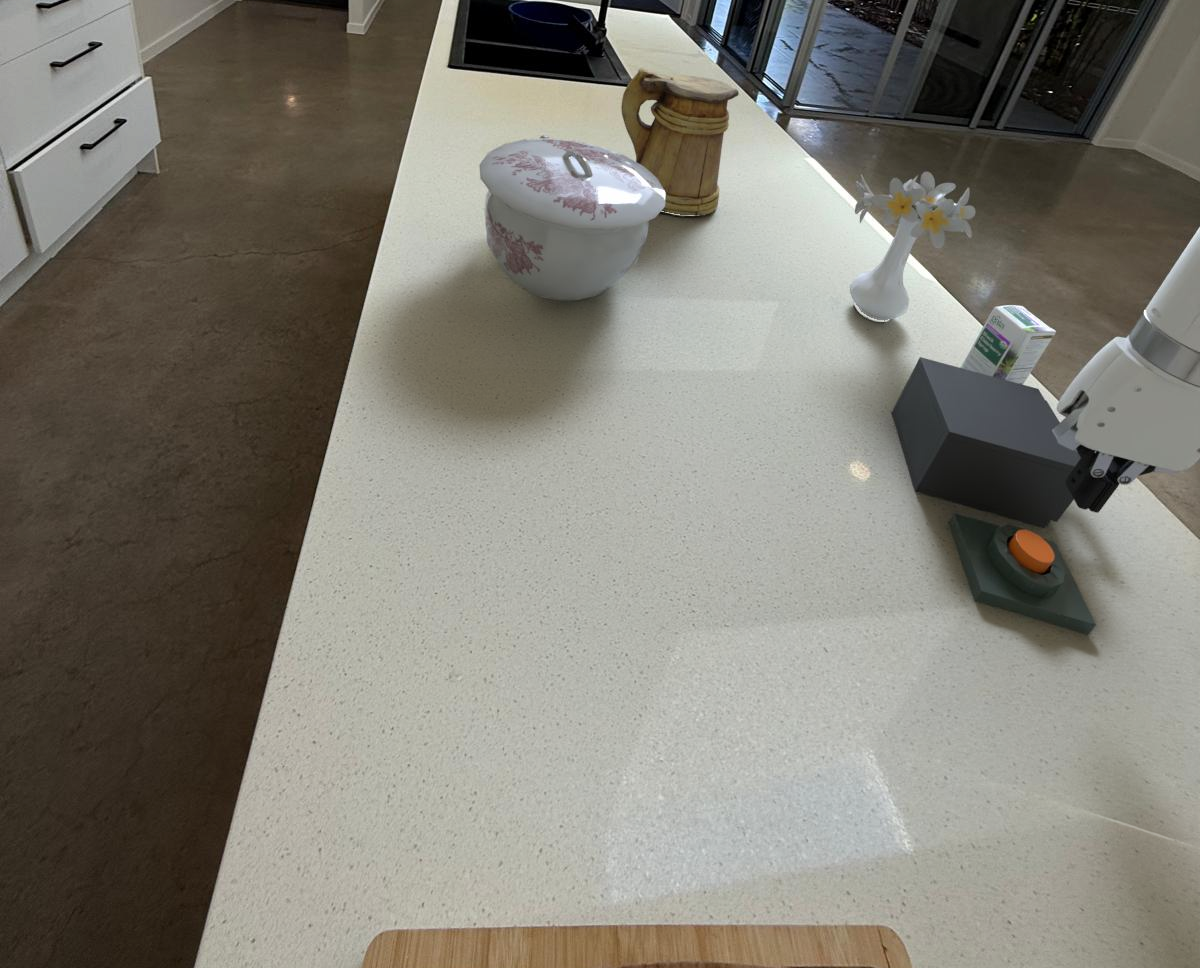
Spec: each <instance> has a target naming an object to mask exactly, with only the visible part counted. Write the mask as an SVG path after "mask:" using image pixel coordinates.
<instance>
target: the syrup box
mask: <svg viewBox="0 0 1200 968" xmlns="http://www.w3.org/2000/svg"><path fill="white" fill-rule="evenodd" d="M1056 333H1057V330H1055V329H1053V328H1052V327H1050V326H1049V325H1047V324H1046V323H1044V321H1042V320H1041V319H1039V318H1038V317H1037V316H1036V315H1034V314H1033V313H1032V312H1031V311H1029V310H1028V309H1027V308H1026V307H1024V306H1023V305H1015V304H1014V305H1013V304H1009V305H999V306H994V307H993V309H992V310H991V312H990V314H989V316H988V317H987V319H986V320H985V323H984V324H983V326H982V328H981V330H980V332H979V334H978V335H977V337H976V339H975V341H974V342H973V344H972V346H971V347H970V349H969V352H968V354H966V356H965V358H964V360H963V362H962V364H961V366H960V367H959V368H963V369H966V370H970V371H974V372H978V373H981V374H985V375H989V376H992V377H996V378H1000V379H1004V380H1007V381H1011V382H1015V383H1018V384H1022V385H1025V383H1026V381H1027V379H1028V378H1029V376H1030V374H1031V373H1032V371H1033V370H1034V368H1035V367H1036V365H1037V363H1038V362H1039V361H1040V358H1041V357H1042V355H1043V354H1044V352H1045V351H1046V349H1047V347H1048V346H1049V344H1050V343H1051V342H1052V340H1053V339H1054V336H1055V335H1056Z"/></svg>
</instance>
